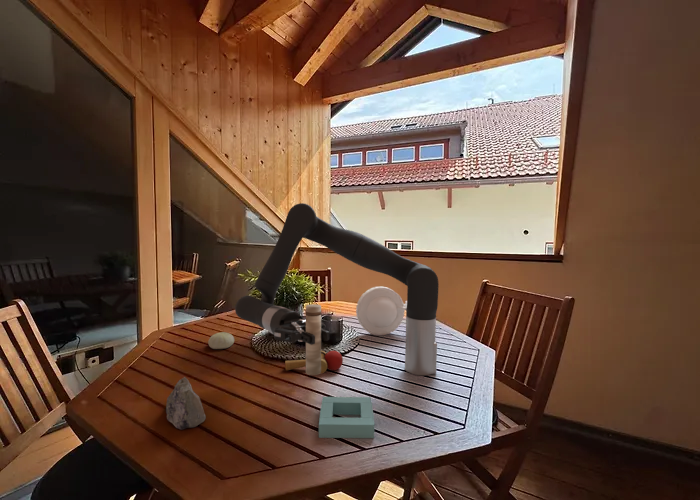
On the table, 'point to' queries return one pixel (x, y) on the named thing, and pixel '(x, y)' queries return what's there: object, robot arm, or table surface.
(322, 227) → the robot arm
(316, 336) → the beige banded cylinder
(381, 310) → the tracked sphere vehicle
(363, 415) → the teal square frame
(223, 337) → the sea urchin shell
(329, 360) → the kendama
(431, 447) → the table surface
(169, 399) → the mineral rock
